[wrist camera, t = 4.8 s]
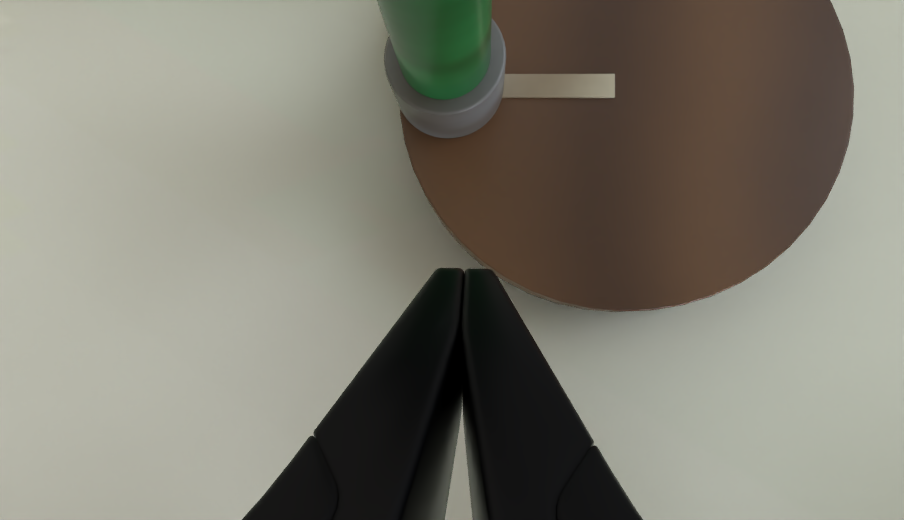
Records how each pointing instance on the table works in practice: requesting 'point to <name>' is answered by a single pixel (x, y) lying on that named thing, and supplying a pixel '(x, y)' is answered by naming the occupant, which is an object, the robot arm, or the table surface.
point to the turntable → (622, 137)
